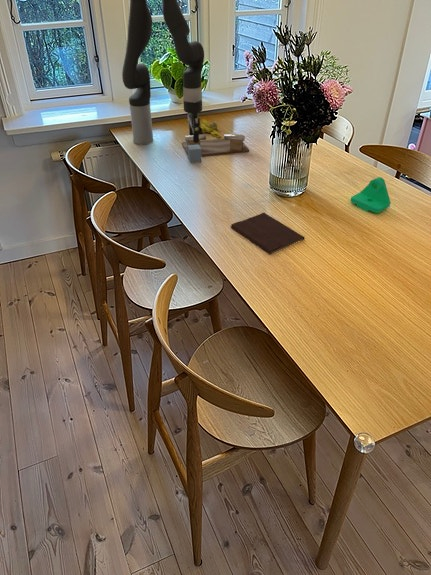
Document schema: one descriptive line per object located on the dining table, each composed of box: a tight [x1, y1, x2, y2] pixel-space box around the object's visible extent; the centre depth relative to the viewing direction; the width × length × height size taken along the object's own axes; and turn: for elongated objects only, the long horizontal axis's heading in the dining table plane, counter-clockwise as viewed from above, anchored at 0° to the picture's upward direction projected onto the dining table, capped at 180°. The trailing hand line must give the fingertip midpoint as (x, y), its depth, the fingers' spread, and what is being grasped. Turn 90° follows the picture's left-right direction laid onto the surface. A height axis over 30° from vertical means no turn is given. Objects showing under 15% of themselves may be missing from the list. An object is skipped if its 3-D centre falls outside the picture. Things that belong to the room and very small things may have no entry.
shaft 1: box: [184, 133, 207, 142], centre depth 201 cm, size 2×9×2 cm, turn 104°
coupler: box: [187, 144, 202, 164], centre depth 193 cm, size 5×5×6 cm
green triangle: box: [350, 176, 391, 214], centre depth 160 cm, size 12×8×10 cm, turn 41°
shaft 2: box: [223, 133, 246, 142], centre depth 201 cm, size 2×9×2 cm, turn 79°
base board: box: [181, 133, 250, 157], centre depth 204 cm, size 16×28×6 cm, turn 104°
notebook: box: [230, 212, 305, 255], centre depth 148 cm, size 15×20×2 cm
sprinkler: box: [195, 118, 222, 139], centre depth 220 cm, size 19×4×15 cm
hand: (194, 138), depth 188 cm, fingers open, 8 cm apart
